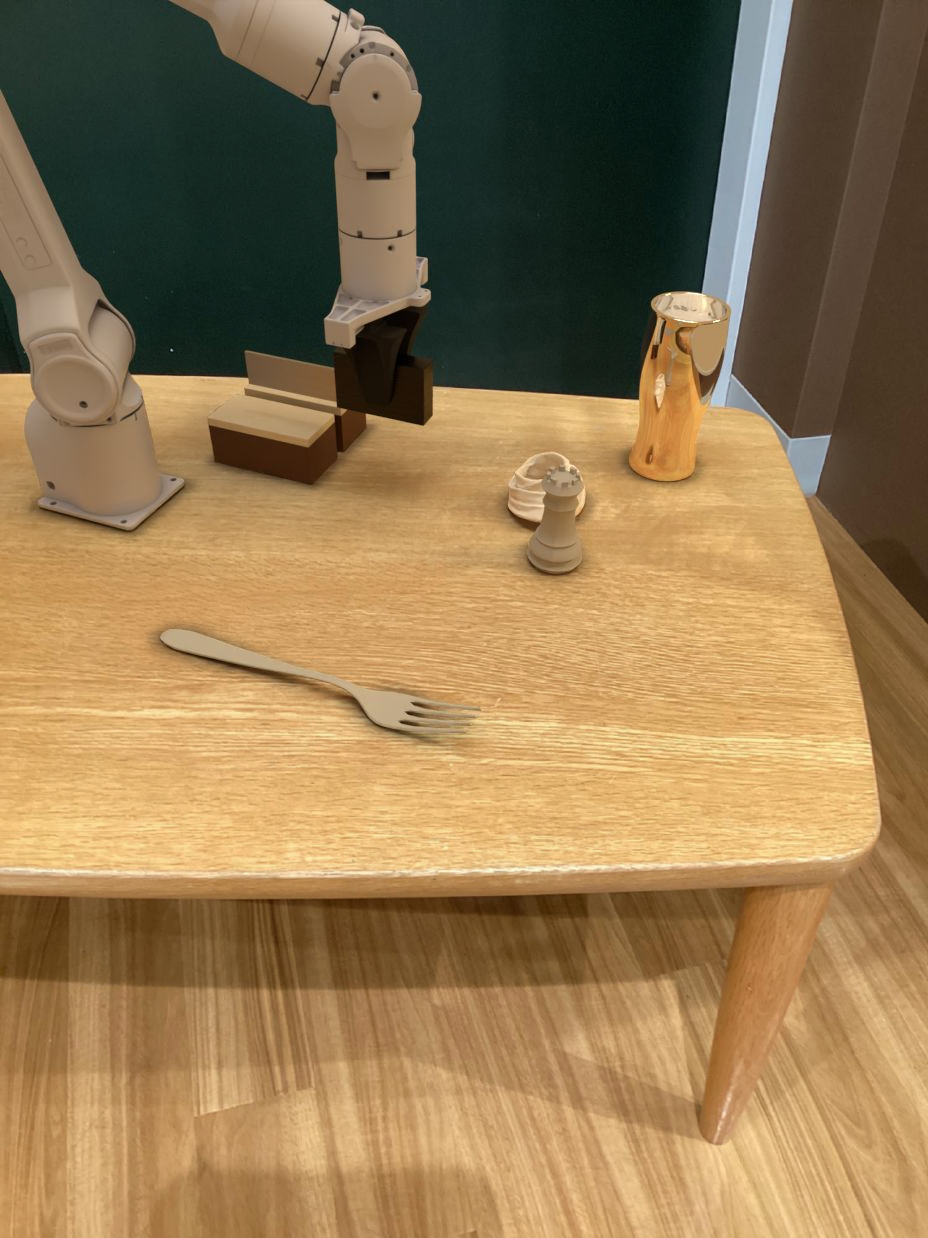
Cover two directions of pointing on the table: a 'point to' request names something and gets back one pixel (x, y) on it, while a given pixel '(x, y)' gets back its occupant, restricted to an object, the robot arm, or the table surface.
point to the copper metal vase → (677, 380)
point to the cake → (273, 438)
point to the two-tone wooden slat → (349, 383)
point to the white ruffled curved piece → (536, 486)
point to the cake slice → (345, 420)
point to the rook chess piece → (558, 523)
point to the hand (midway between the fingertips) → (383, 396)
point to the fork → (376, 704)
